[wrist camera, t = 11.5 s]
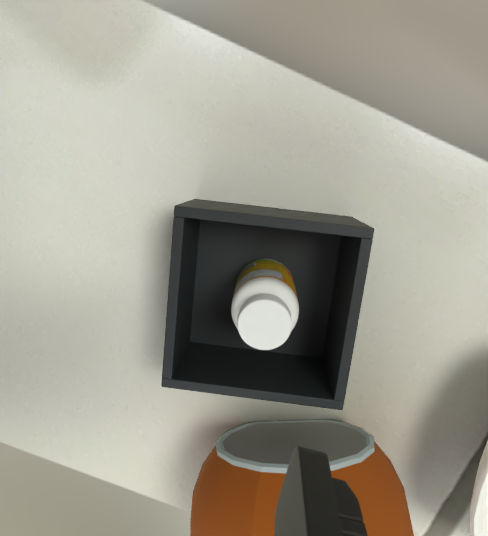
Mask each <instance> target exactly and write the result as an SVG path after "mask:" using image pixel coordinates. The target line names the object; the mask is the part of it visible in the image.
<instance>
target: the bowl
mask: <svg viewBox="0 0 488 536" xmlns="http://www.w3.org/2000/svg"><path fill="white" fill-rule="evenodd" d="M469 524H470V536H488V441H487V443H486V446H485V449H484V451H483V454H482V457H481V460H480V462H479V467H478V471H477V476H476V480H475V484H474V489H473V495H472V500H471V506H470V511H469Z"/></svg>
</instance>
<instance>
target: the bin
mask: <svg viewBox="0 0 488 536" xmlns="http://www.w3.org/2000/svg"><path fill="white" fill-rule="evenodd" d="M373 233H374V228H372V227H370V226H368V225H366V224H364V223H362V222H360V221H359V220H357V219H355V218H353V217H348V216H339V215H331V214H322V213H313V212H304V211H296V210H287V209H278V208H269V207H260V206H252V205H243V204H234V203H225V202H216V201H208V200H199V199H194V200H191V201H188V202H185V203H182V204H179V205H176V206H175V208H174V221H173V235H172V249H171V262H170V276H169V290H168V304H167V317H166V331H165V345H164V359H163V372H162V387H168V388H176V389H183V390H191V391H199V392H207V393H214V394H222V395H230V396H237V397H245V398H253V399H261V400H268V401H276V402H284V403H292V404H299V405H307V406H315V407H322V408H330V409H338V410H342V409H343V404H344V399H345V393H346V388H347V382H348V376H349V370H350V365H351V359H352V353H353V348H354V342H355V336H356V330H357V325H358V319H359V313H360V308H361V302H362V296H363V290H364V285H365V279H366V273H367V268H368V262H369V256H370V251H371V245H372V238H373ZM258 259H272V260H275V261H278V262H280V263H281V264H283V265H284V266H285V267H286V268H287V269H288V270H289V271H290V273H291V275H292V277H293V280H294V284H295V289H296V294H297V299H298V304H299V316H298V320H297V323H296V325H295V327H294V328H293V330H292V331H291V333H290V335H289V337H288V339H287V340H286V341H285V342H284V343H283V344H282V345H280V346H279V347H277V348H274V349H271V350H259V349H255V348H253V347H251V346H249V345H248V344H247V343H245V342H244V340H243V339H242V338H241V336H240V334H239V331H238V329H237V328H236V326H235V324H234V322H233V319H232V314H231V307H232V300H233V295H234V291H235V287H236V282H237V279H238V276H239V274H240V272H241V271H242V269H243V268H244V267H245V266H246V265H248V264H249V263H251V262H253V261H255V260H258Z"/></svg>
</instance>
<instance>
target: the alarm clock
mask: <svg viewBox="0 0 488 536" xmlns="http://www.w3.org/2000/svg"><path fill="white" fill-rule="evenodd" d="M296 446H300V447H304V448H308V449H312V450H316V451H320V452H324V453H326V454H327V456H328V460H329V465H330V470H331V475H332V478H336V479H340V480H344V481H346V483H347V484H348V486H349V487H350V488H351V490H352V491H353V493H354V494H355V496H356V497H357V499H358V501H359V504H360V508H361V512H362V516H363V519H364V520H363V523H365V527H366V531H367V535H368V536H414V535H413V530H412V525H411V520H410V515H409V510H408V506H407V501H406V496H405V491H404V487H403V485H402V483H401V481H400V479H399V477H398V475H397V473H396V471H395V469H394V467H393V465H392V463H391V461H390V459H389V458H388V457H387V456H386V455H385V453H384V452H383V451H382V450H381V449H380V448H379V446H378V445H377V444H376V443H375V442H374V437H373V436H372V435H371V434H369V433H368V432H366V431H365V430H363V429H362V428H360V427H357V426H354V425H350V424H347V423H344V422H341V421H334V420H326V419H325V420H292V421H260V422H252V423H247V424H244V425H241V426H239V427H236V428H234V429H231V430H229V431H226V432H225V433H224V434H223V435H222V436H221V437H219V438H218V439H217V440H216V446H215V447H214V449H213V450H212V452H211V453H210V455H209V456H208V458H207V459H206V461H205V462H204V463H203V465H202V468H201V471H200V474H199V476H198V479H197V482H196V485H195V488H194V491H193V499H192V510H191V536H274V524H275V513H276V507H277V502H278V498H279V495H280V491H281V488H282V485H283V482H284V479H285V475H286V472H287V469H288V466H289V462H290V459H291V456H292V453H293V450H294V448H295V447H296Z"/></svg>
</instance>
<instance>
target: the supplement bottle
mask: <svg viewBox="0 0 488 536" xmlns="http://www.w3.org/2000/svg"><path fill="white" fill-rule="evenodd" d="M231 314H232V319H233V322H234V324H235V326H236V328H237V329H238V331H239V334H240V336H241V338H242V339H243V340H244V342H245V343H247V344H248V345H249V346H251V347H253V348H255V349H259V350H271V349H274V348H277V347H279V346H280V345H282V344H283V343H284V342H285V341H286V340H287V339H288V337H289V335H290V333H291V331H292V330H293V328H294V327H295V325H296V323H297V320H298V316H299V304H298V299H297V294H296V289H295V284H294V280H293V277H292V275H291V273H290V271H289V270H288V269H287V268H286V267H285V266H284V265H283V264H281V263H280V262H278V261H275V260H272V259H258V260H255V261H253V262H251V263H249V264H248V265H246V266H245V267H244V268H243V269H242V271H241V272H240V274H239V276H238V279H237V282H236V287H235V291H234V295H233V300H232V307H231Z"/></svg>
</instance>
